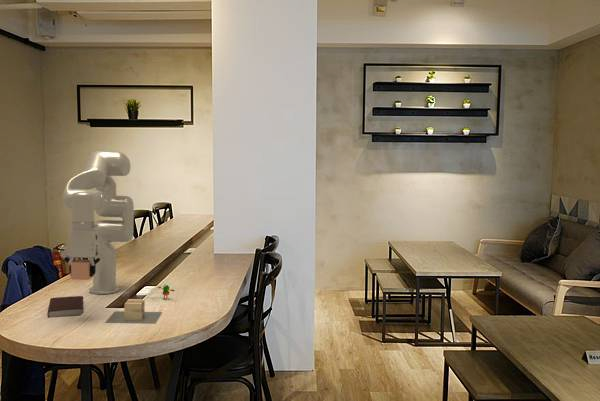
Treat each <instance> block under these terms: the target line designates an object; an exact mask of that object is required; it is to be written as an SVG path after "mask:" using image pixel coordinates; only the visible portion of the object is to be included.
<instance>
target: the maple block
mask: <svg viewBox="0 0 600 401" xmlns="http://www.w3.org/2000/svg"><path fill="white" fill-rule="evenodd" d="M145 301H146V300H145V299H141V298H139V299H138V298H136V299H135V298H128V299H127V300H126V301H125V302H124V310H123V311H124V320H141V319H142V318H143V316H144V312H146V311H145V307H146V306H145V303H146V302H145Z"/></svg>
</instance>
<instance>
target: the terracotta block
mask: <svg viewBox="0 0 600 401" xmlns="http://www.w3.org/2000/svg"><path fill="white" fill-rule="evenodd" d="M90 266H91V263H90V260H89V259H82V258H76V259H75V261H73V262H72V263H71V273H70V280H76V281H77V280H78V281H79V280H80V281H83V280H84V281H88V280H91V279H93V276H92V277H90Z"/></svg>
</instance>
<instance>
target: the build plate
mask: <svg viewBox="0 0 600 401" xmlns="http://www.w3.org/2000/svg"><path fill="white" fill-rule="evenodd" d="M162 313H163V312H162V311H145V312H144V316H143V318H142V319H141V320H124V310H123V311H120V310H118V311H117V310H116V311H114V312H113V313H112V314H111V315H110V316H109V317H108V318H107V320H106V321H105V322H104V324H141V325H142V324H143V325H144V324H147V325H149V324H154V325H155V324H156V323H157V322H158V320H159V319H160V317H161V315H162Z"/></svg>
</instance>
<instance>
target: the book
mask: <svg viewBox="0 0 600 401" xmlns="http://www.w3.org/2000/svg"><path fill="white" fill-rule="evenodd" d="M83 314H84V296H83V295H75V296H59V297H57V296H56V297H51V298H50V299H49V304H48V309H47V318H62V317H74V316H75V317H76V316H78V317H79V316H81V315H83Z"/></svg>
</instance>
